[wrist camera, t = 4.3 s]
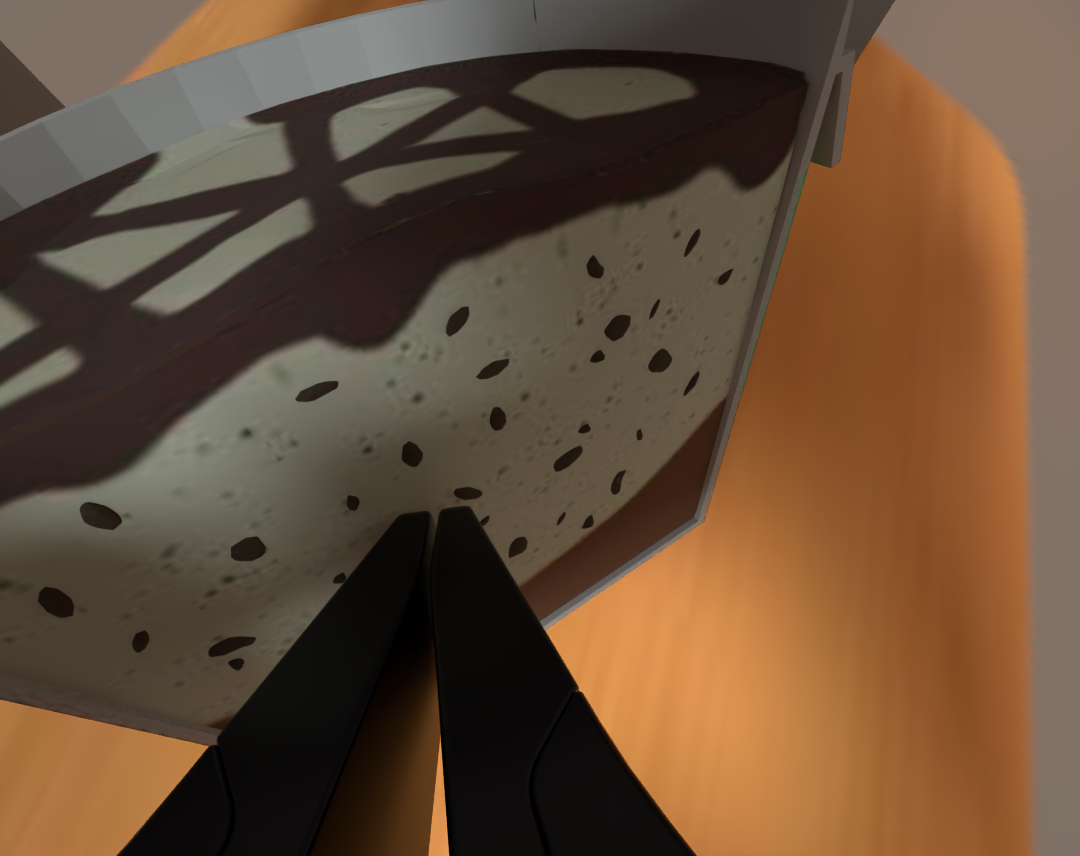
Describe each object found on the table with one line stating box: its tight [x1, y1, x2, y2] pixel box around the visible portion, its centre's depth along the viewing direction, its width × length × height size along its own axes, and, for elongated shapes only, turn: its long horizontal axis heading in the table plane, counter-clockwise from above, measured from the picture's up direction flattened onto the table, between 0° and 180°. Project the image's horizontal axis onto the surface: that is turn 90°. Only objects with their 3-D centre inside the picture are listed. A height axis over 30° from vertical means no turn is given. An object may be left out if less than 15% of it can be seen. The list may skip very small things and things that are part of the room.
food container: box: [0, 0, 856, 746], centre depth 10 cm, size 12×6×10 cm, turn 122°
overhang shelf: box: [0, 0, 895, 136], centre depth 9 cm, size 6×17×15 cm, turn 97°
